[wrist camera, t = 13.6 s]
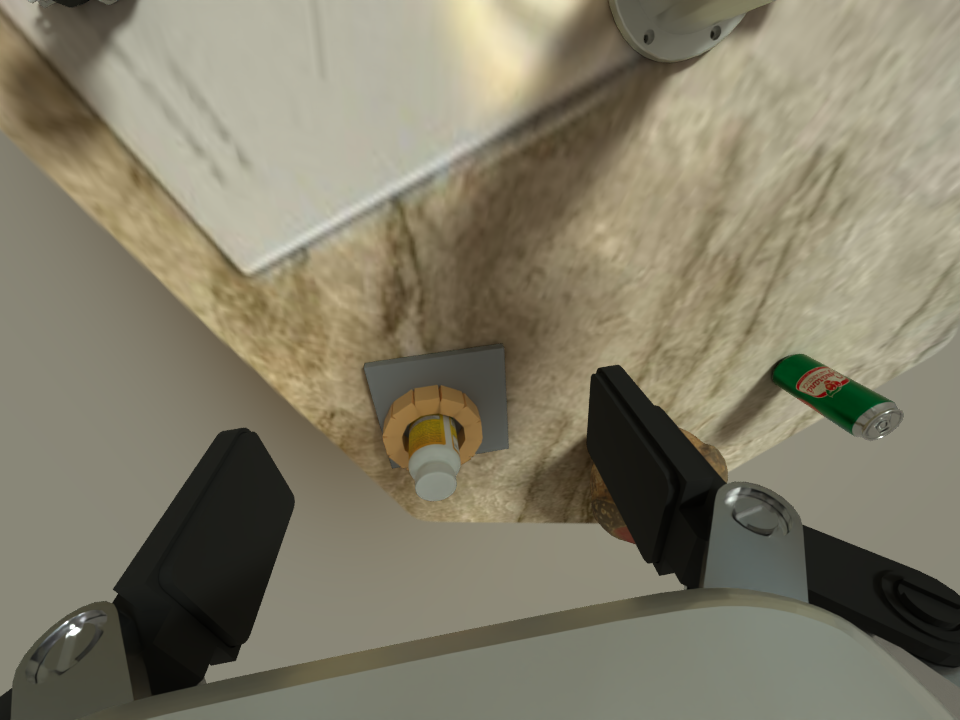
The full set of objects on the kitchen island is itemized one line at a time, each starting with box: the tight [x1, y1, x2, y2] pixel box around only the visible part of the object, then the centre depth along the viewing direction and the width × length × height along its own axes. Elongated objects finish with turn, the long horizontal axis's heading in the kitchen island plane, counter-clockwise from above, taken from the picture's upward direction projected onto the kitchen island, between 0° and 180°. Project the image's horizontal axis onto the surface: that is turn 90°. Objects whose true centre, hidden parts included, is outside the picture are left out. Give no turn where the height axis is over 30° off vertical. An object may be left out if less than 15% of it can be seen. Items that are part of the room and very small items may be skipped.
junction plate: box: [364, 344, 509, 468], centre depth 43 cm, size 15×15×1 cm
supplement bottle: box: [409, 413, 461, 501], centre depth 39 cm, size 5×5×10 cm
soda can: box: [772, 354, 904, 441], centre depth 45 cm, size 5×5×12 cm
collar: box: [383, 385, 483, 471], centre depth 43 cm, size 11×11×2 cm
